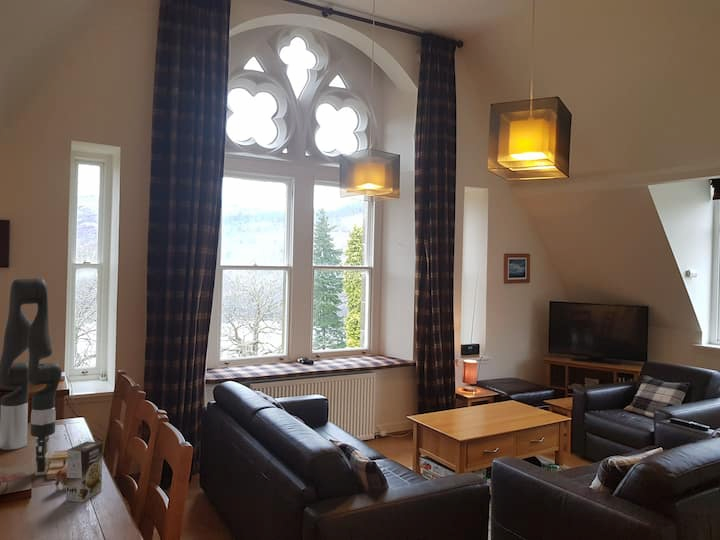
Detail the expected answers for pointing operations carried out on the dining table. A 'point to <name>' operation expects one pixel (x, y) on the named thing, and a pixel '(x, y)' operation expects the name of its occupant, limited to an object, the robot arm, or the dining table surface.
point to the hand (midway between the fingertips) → (41, 469)
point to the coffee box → (84, 471)
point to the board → (56, 464)
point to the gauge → (49, 459)
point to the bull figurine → (61, 477)
